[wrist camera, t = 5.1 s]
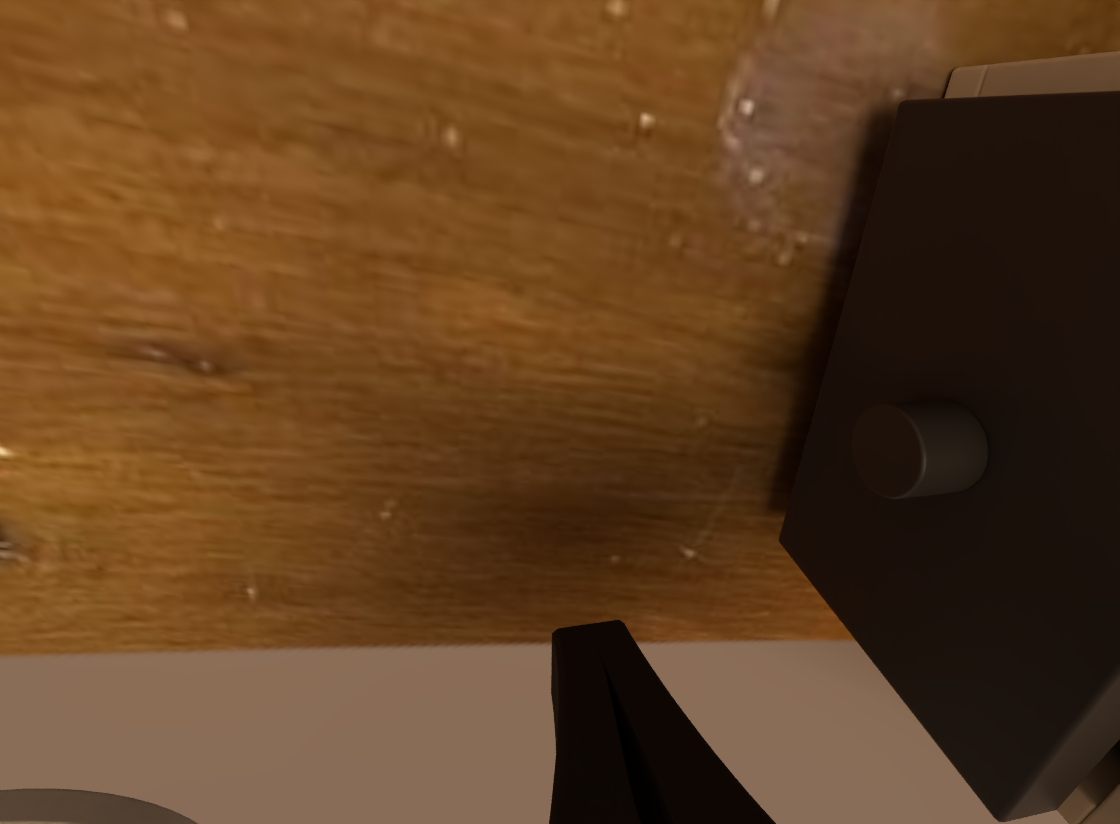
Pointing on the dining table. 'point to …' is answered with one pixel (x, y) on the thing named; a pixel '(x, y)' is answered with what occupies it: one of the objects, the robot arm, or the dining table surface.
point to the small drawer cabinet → (1116, 781)
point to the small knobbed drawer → (982, 439)
